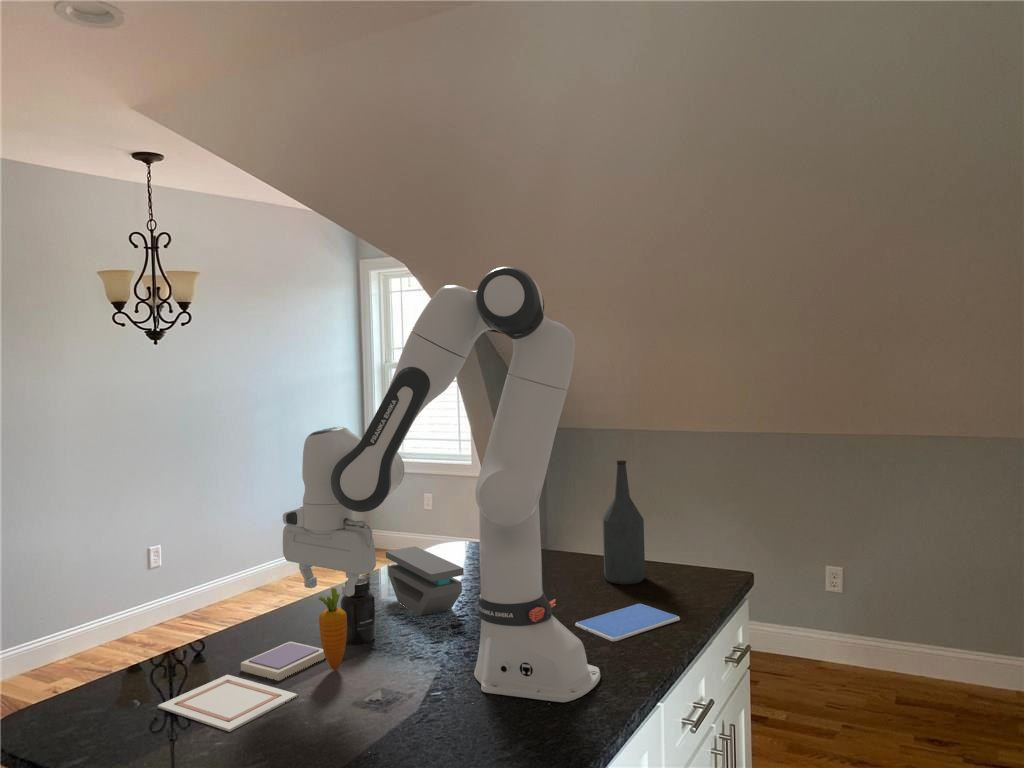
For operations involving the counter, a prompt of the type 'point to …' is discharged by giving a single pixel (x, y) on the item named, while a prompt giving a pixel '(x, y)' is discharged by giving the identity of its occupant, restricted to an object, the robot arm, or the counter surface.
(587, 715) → the counter surface
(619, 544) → the bottle
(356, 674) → the counter surface
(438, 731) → the counter surface
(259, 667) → the ink pad
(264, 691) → the print card
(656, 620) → the tablet computer
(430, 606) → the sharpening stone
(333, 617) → the carrot
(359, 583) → the supplement bottle
